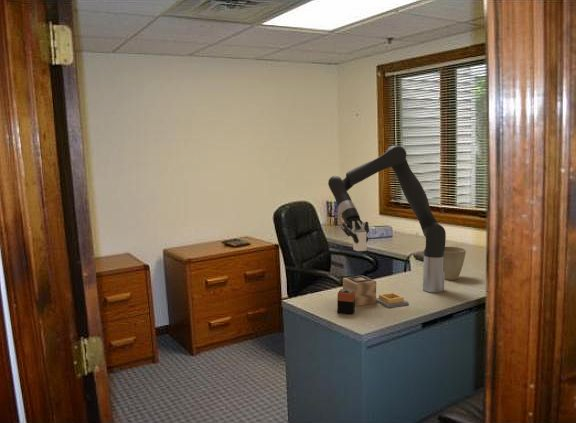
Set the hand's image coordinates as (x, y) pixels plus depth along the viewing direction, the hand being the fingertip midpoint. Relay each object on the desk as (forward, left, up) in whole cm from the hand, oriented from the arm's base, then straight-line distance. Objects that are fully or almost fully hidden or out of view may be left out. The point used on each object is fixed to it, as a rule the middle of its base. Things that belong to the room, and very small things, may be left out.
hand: (362, 241), depth 218 cm
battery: (+11, +12, -28) cm, 33 cm away
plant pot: (-61, -28, -28) cm, 72 cm away
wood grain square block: (0, -2, -28) cm, 28 cm away
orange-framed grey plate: (-13, +4, -28) cm, 31 cm away
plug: (0, -2, -4) cm, 4 cm away
